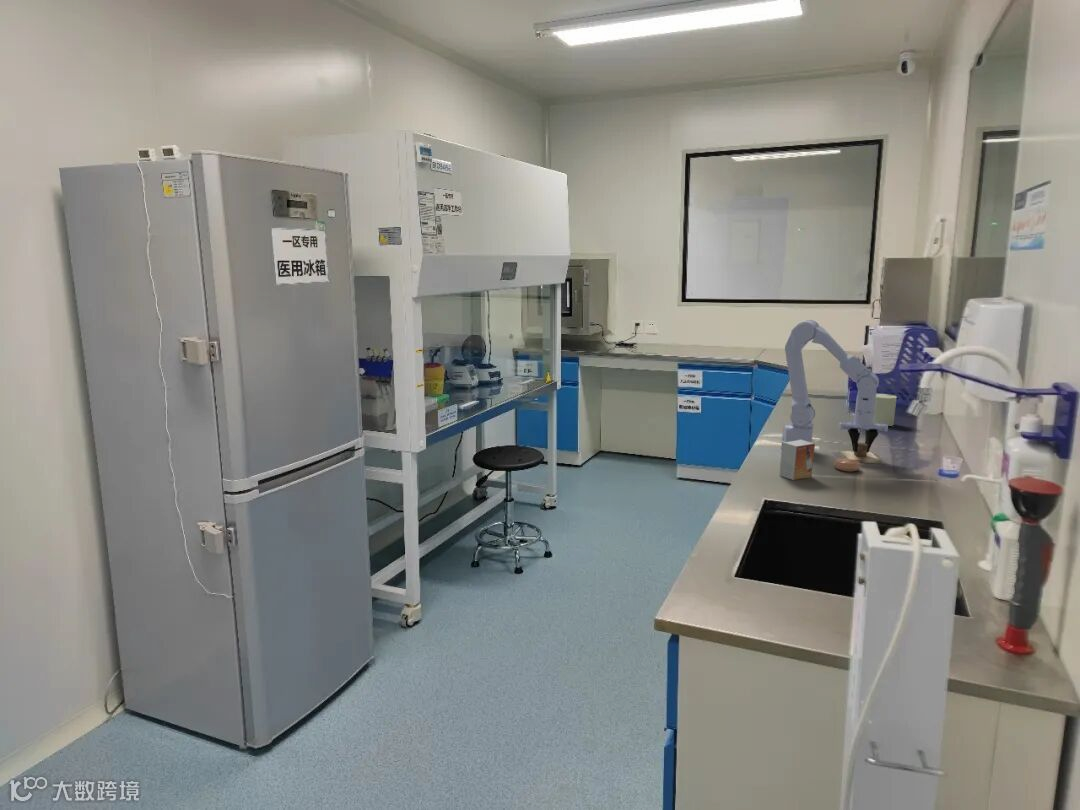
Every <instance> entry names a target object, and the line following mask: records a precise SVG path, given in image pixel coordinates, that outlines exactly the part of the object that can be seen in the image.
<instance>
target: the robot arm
mask: <svg viewBox="0 0 1080 810" xmlns="http://www.w3.org/2000/svg"><path fill="white" fill-rule="evenodd" d="M809 342H811V343H813V344H818V345H821V346H823V347H824V348H825V349H826V350H827V351H828V353H830V354H831V355H832V356H833V357H834V358H836V360H837V361H838V362H839V368H840V369H841V370H842V372H844V373H845V374H846V375H847V376H848V378H850V379H851V380H852V382H855V383H856V388H857V395H856V401H855V409H854V411H855V412H854V419H853V421H850V422H849V421H848V422H839V423H838V429H839V430H843V431H844V430H847V433H848V435H849V437H850V440H851V441H850V442H851V445H852V451H854V452H857V448H858V443H859V439H860V435H861V433H860V432H859V431H865V434H864V435H865V436H864V437H865V440H864V443H865V444H867V445H868V448H867V453H868V452H870V449H871V447H872V444H873V443H874V441H875V440H876V438H877V437H878V435H879V432H878V431H880V432H881V431H883V432H888V431H889V430H888V429H889V427H888V425H886V424H877V423H874V414H875V406H876V394H878V393H877V388H878V386H879V385H880V384H879V383H880V379H879V377H878V376H877V374H876V373H874V372H872V369H871V368H867V366H865V365H864V363H862V359H861V358H860V357H859V356H856V355H854V354H848V353H847V352H846V351H845V350H844V348H843V347H841V345H840V344H839V343H838V342H837V341H836V340H835V339H834V338H833V336H832V335H831V334H830V333H829V332H828V330H826V329H825V328H824V327H822V326H821V325H819V323H818V322H816V320H812V319H809V320H805V321H802V322H801V321H800V322H799V323H798V324H797V325H796V326H794V328H792V329H791V332H790V334H789V337H788V339H787V340H786V343H785V345H784V353H785V357H786V363H787V364H786V365H787V371H788V377H789V384H790V390H791V396H792V401H791V413H790V415H789V416H790V421H791V422H790V424H789V425H788V424H787V425H784V426H783V427H782V433H781V445H780V448H781V449H782V442H790V441H796V440H804V441H808V442H811V443H813V433H814V427H815V426H814V424H813V420H814V418H815V416H816V410H815V408H814V407H813V406H812V403H811V399H810V397H809V392H808V386H807V385H808V384H807V380H806V378H807V377H806V373H805V372H806V371H805V367H804V361H803V353H802V350H803V348H805V347H806V345H807V344H808V343H809Z"/></svg>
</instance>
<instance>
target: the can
mask: <svg viewBox="0 0 1080 810" xmlns="http://www.w3.org/2000/svg"><path fill="white" fill-rule="evenodd" d="M897 398H898V396H896V395H893V394H887V393H877V394H876V406H875V414H874V423H877V424H886V425H888V426H892V425H894V424H895V415H896V413H895V412H896V404H897ZM894 426H895V425H894ZM892 427H893V426H892Z"/></svg>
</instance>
